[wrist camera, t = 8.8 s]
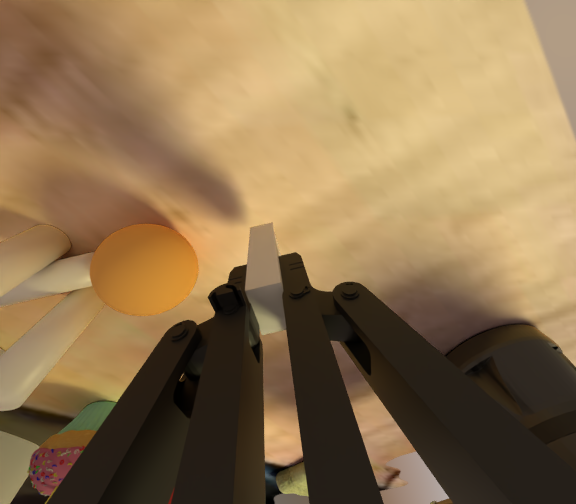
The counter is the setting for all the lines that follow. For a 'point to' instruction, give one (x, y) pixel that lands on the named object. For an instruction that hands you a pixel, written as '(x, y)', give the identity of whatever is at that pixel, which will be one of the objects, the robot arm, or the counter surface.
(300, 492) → the washcloth
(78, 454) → the cupcake
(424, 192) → the counter surface
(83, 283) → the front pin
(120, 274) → the ball
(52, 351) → the pin
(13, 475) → the lumpy-topped squat cylinder
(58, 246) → the pin
